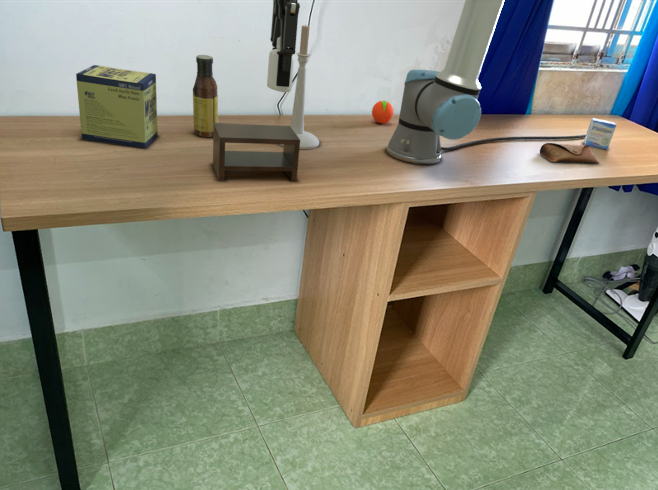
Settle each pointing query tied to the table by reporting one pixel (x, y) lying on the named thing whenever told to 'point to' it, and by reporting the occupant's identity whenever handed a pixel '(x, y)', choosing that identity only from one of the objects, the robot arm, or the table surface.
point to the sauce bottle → (205, 97)
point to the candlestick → (302, 96)
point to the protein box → (117, 106)
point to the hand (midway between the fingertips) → (279, 82)
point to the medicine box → (599, 133)
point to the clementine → (382, 112)
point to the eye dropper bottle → (273, 70)
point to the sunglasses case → (567, 153)
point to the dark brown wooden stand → (251, 158)
